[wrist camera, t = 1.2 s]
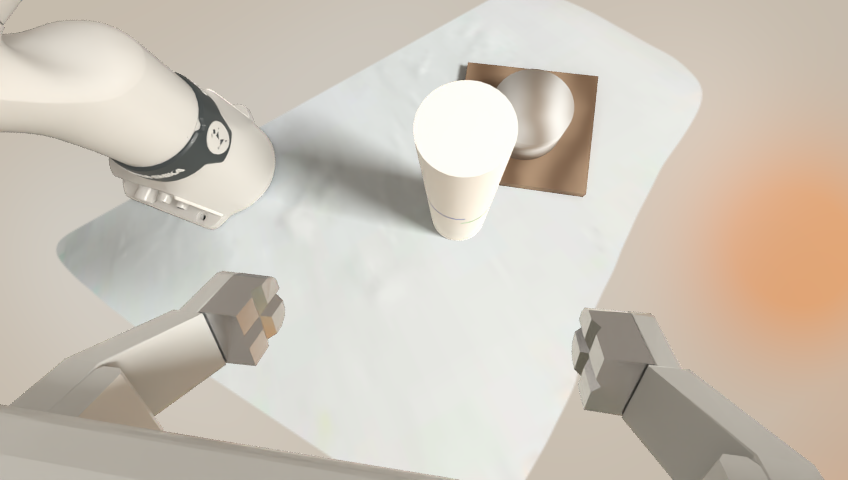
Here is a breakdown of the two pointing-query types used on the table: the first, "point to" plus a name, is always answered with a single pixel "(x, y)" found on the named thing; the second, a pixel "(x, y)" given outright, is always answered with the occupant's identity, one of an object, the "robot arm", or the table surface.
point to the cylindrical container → (463, 152)
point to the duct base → (568, 148)
